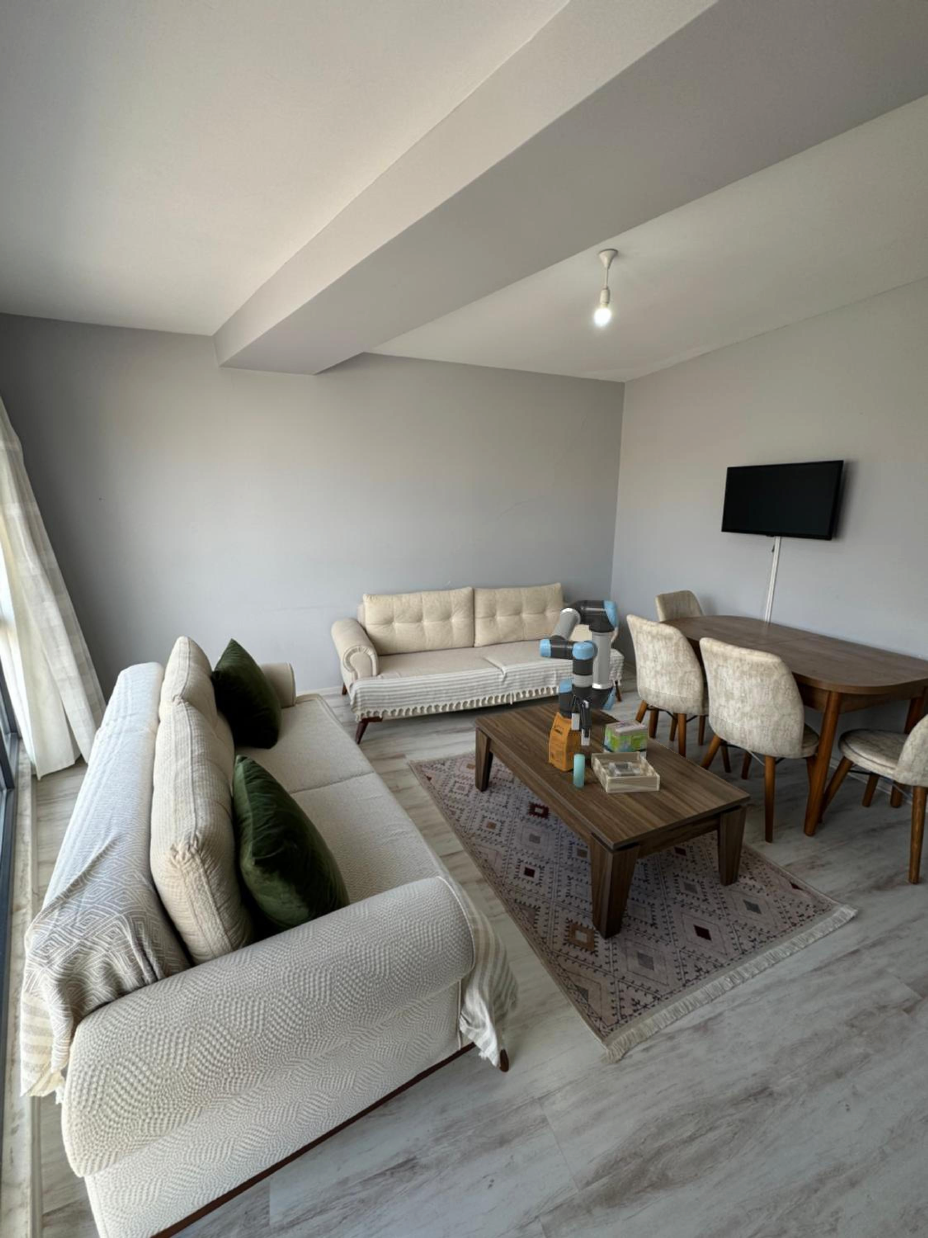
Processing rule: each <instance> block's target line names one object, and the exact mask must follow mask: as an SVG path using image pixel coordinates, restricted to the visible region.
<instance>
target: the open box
mask: <svg viewBox="0 0 928 1238" xmlns="http://www.w3.org/2000/svg"><path fill="white" fill-rule="evenodd" d="M590 757H591V758H590V759H591V763H590V764H591V765H590V767H591V770H592V771H593V772H594V774H595V776H596V777H597V779H598V781H599V782H600V784H601V786H602V787H603V789H604V790H605V792H606V794H620V793H622V794H623V793H639V792H640V793H641V792H659V791H660V782H661V781H660V780H661V776H660V775H659V774H658V772H657V771H656V770H655V769H654V767H653V766H652V765H651V764H650V762H649V761H648V760H647V759H646V758H644V757H643V756H642V755H641V753H640V752H639V751H638V752H616V753H604V752H600V753H599V752H597V753H591V756H590Z"/></svg>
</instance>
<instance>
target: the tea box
mask: <svg viewBox="0 0 928 1238" xmlns="http://www.w3.org/2000/svg"><path fill="white" fill-rule="evenodd" d="M604 733H605V734H604V746H603V753H616V752H638V751H639V752H640V753H641V755H642V756H643V757H644V758H645V759H646V758H647V749H648V735H649V726H646V725H645V724H642V723H641V722H639V721H637V720H636V719H633V718H632V719H627V720H622V721H617V722H612V723H607V724H605V732H604Z"/></svg>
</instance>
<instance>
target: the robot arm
mask: <svg viewBox="0 0 928 1238" xmlns="http://www.w3.org/2000/svg"><path fill="white" fill-rule="evenodd" d="M619 621H620V620H619V606H618V604H617V603H616V602H615V601H613V600H605V599H604V600H603V599H600V600H599V599H583V598H582V599H577V600H575V601H574V600H573V602H570V603H568V604H566V605H565V606H564V607H563V608H562V609H561V610H560V612H559V615H558V621H557V624H556V625H555V627H554V628H553V630H552V633H551V635H550V637H549V638H542V639H540V642H539V655H540V657H542V658H547V659H555V660H556V659H557V660H565V661H572V668H571V669H572V671H571V675H570V678H567V679H564V680H563V679H562V680H561V681H560V682H559V685H558V689H557V690H558V710H557V712H559V713H560V714H561V715H562V717H563V718H567V719H572V730H578V732H579V731H581V743H580V745H581V746H590V739H591V736H590V735H591V733H590V732H591V731H592V730H593V722H592V713H591V712H592V711H591V710H596V711H597V710H598V711H599V710H600V711H611V710H612V709H613V705H614V701H615V695H616V693H617V692H616V691H617V687H616V686H614V683H613V681H612V680H611V679H610V677H611V676H610V675H611V656H612V655H611V653H612V652H611V649H612V648H611V647H612V633H613V632H615V630H616V628H618V627H619V623H620V622H619ZM578 625H579V626H580V625H581V626H588V630H589V632H590V633H591V639H586V640H583V641H578V640H575V641H574V640H570V639H571V637H572V634H573V632H574V630H575V629H576V627H577V626H578Z"/></svg>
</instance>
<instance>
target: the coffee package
mask: <svg viewBox="0 0 928 1238" xmlns="http://www.w3.org/2000/svg"><path fill="white" fill-rule="evenodd" d="M580 740H581V734H580V732H579V731H578V730H572V719H567V718H563V717H562V715H561V714H560V713H559V712H558V711H557V712H556V715H555V716H554V720H553V723H552V726H551V729H550V735H549V743H548V763H550V764H552V765H553V766H554V767H555V768H556V769H557V770H560V771H562V772H568V771H570V770H573V769H574V755H575V754H580V745H581V743H580Z"/></svg>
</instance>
